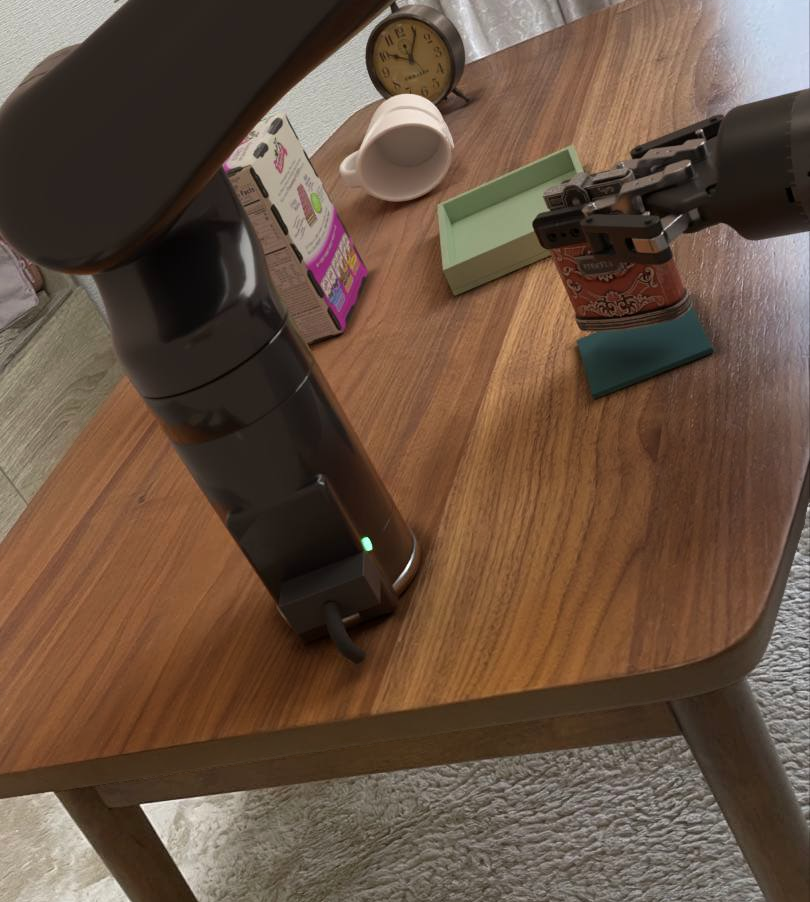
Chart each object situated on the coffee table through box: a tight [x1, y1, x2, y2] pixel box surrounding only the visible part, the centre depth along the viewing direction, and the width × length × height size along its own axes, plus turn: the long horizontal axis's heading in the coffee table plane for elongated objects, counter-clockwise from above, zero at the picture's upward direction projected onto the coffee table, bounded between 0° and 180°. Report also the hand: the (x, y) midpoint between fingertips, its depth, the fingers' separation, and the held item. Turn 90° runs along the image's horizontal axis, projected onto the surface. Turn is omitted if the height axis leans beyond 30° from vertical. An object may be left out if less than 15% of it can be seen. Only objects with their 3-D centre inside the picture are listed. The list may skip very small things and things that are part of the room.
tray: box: [436, 144, 584, 297], centre depth 106 cm, size 15×13×2 cm
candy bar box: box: [223, 111, 369, 346], centre depth 106 cm, size 11×5×16 cm, turn 168°
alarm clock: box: [364, 0, 471, 107], centre depth 141 cm, size 11×5×16 cm, turn 67°
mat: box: [576, 305, 715, 400], centre depth 82 cm, size 8×8×1 cm
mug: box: [338, 94, 455, 203], centre depth 126 cm, size 12×9×8 cm
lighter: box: [542, 168, 693, 333], centre depth 78 cm, size 8×3×10 cm, turn 59°
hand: (551, 215), depth 78 cm, fingers closed on lighter, 3 cm apart
